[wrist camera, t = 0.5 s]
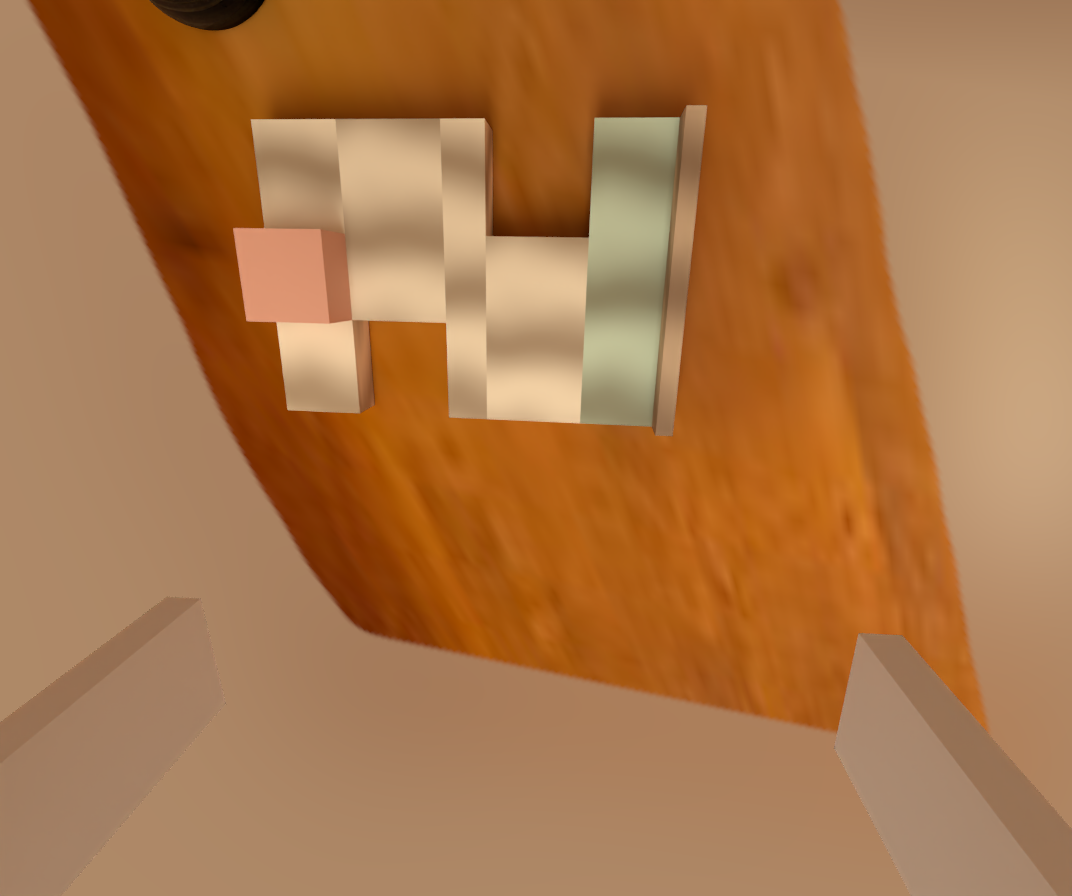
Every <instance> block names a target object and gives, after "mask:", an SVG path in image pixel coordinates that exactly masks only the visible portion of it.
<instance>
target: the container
mask: <svg viewBox="0 0 1072 896" xmlns="http://www.w3.org/2000/svg"><path fill="white" fill-rule="evenodd" d="M150 1H151V2H152V3H153V4H154V5H155V6H156V7H157V8H159V9H160V10H161V11H162V12H164V13H165V14H167V15H168V16H170V17H171V18H173V19H175V20H177V21H179V22H181V23H183V24H185V25H188V26H191V27H195V28H199V29H204V30H224V29H229V28H232V27H235V26H237V25H239V24H241V23H243V22H244V21H246V20H247V19H248V18H250V17H251V16H252V15H253V14H254V13H255V12H256V11H257V10H258V9H259V7H260V6H261V5H262V3H263V2H264V0H150Z"/></svg>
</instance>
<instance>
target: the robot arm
mask: <svg viewBox="0 0 1072 896" xmlns="http://www.w3.org/2000/svg"><path fill="white" fill-rule="evenodd" d="M225 704H226V703H225V699H224V695H223V691H222V686H221V682H220V678H219V673H218V669H217V665H216V661H215V657H214V653H213V648H212V644H211V640H210V636H209V632H208V627H207V623H206V619H205V614H204V610H203V606H202V602H201V599H199V598H179V597H166V598H165V599H163V600H162V601H161V602H160V603H158V604H157V605H155V606H154V607H153V608H151V609H150V610H149V611H147V612H146V613H145V614H143V615H142V616H141V617H139V618H138V619H137V620H135V621H134V622H133V623H132V624H130V625H129V626H127V627H126V628H125V629H123V630H122V631H121V632H120V633H118V634H117V635H116V636H114V637H113V638H111V639H110V640H109V641H107V642H106V643H105V644H103V645H102V646H101V647H100V648H98V649H97V650H96V651H94V652H93V653H92V654H90V655H89V656H88V657H86V658H85V659H84V660H82V661H81V662H80V663H78V664H77V665H76V666H74V667H73V668H72V669H70V670H69V671H68V672H66V673H65V674H64V675H62V676H61V677H60V678H58V679H57V680H56V681H54V682H53V683H52V684H50V685H49V686H48V687H46V688H45V689H44V690H42V691H41V692H40V693H38V694H37V695H36V696H34V697H33V698H32V699H30V700H29V701H28V702H26V703H25V704H24V705H22V706H21V707H20V708H18V709H17V710H16V711H15V712H13V713H12V714H11V715H9V716H8V717H7V718H5V719H4V720H3V721H1V722H0V896H61V895H62V894H63V893H64V892H65V891H66V889H67V888H68V887H69V886H70V885H71V884H72V883H73V881H74V880H75V879H76V878H77V877H78V876H79V874H80V873H81V872H82V871H83V870H84V869H85V867H86V866H87V865H88V864H89V863H90V862H91V860H92V859H93V858H94V857H95V856H96V855H97V853H98V852H99V851H100V850H101V849H102V847H103V846H104V845H105V844H106V843H107V842H108V841H109V839H110V838H111V837H112V836H113V835H114V834H115V832H116V831H117V830H118V829H119V828H120V827H121V825H122V824H123V823H124V822H125V821H126V819H127V818H128V817H129V816H130V815H131V814H132V813H133V811H134V810H135V809H136V808H137V807H138V806H139V804H140V803H141V802H142V801H143V800H144V798H145V797H146V796H147V795H148V794H149V792H151V790H152V789H153V788H154V787H155V786H156V785H157V783H158V782H159V781H160V780H161V779H162V778H163V776H164V775H165V774H166V773H167V772H168V770H169V769H170V768H171V767H172V766H173V764H174V763H175V762H176V761H177V760H178V759H179V758H180V756H181V755H182V754H183V753H184V751H186V749H187V748H188V747H189V746H190V745H191V744H192V742H193V741H194V740H195V739H196V738H197V737H198V735H199V734H200V733H201V732H202V731H203V730H204V728H205V727H206V726H207V725H208V724H209V723H210V721H211V720H212V719H213V718H214V717H215V716H216V714H217V713H218V712H219V711H220V710H221V709H222V707H223V706H224V705H225ZM834 749H835V751H836V753H837V754H838V756H839V758H840V760H841V762H842V764H843V766H844V768H845V770H846V771H847V774H848V775H849V777H850V779H851V781H852V783H853V785H854V787H855V789H856V791H857V793H858V794H859V796H860V798H861V801H862V802H863V804H864V806H865V808H866V810H867V812H868V814H869V816H870V818H871V820H872V822H873V823H874V825H875V827H876V829H877V831H878V833H879V835H880V837H881V839H882V841H883V843H884V845H885V847H886V848H887V850H888V852H889V854H890V856H891V858H892V860H893V862H894V864H895V866H896V868H897V870H898V872H899V874H900V875H901V877H902V879H903V881H904V883H905V885H906V887H907V889H908V891H909V893H910V895H911V896H1072V829H1071V827H1070V826H1069V825H1068V824H1067V823H1066V822H1065V821H1064V819H1063V818H1062V817H1061V816H1060V815H1059V814H1058V813H1057V811H1056V810H1055V809H1054V808H1053V807H1052V806H1051V805H1050V803H1049V802H1048V801H1047V800H1046V799H1045V798H1044V797H1043V796H1042V794H1041V793H1040V792H1039V791H1038V790H1037V789H1036V787H1035V786H1034V785H1033V784H1032V783H1031V782H1030V781H1029V780H1028V779H1027V777H1026V776H1025V775H1024V774H1023V773H1022V772H1021V770H1020V769H1019V768H1018V767H1017V766H1016V765H1015V763H1014V762H1013V761H1012V760H1011V759H1010V758H1009V757H1008V756H1007V754H1006V753H1005V752H1004V751H1003V750H1002V749H1001V748H1000V746H999V745H998V744H997V743H996V742H995V741H994V740H993V738H992V737H991V736H990V735H989V734H988V733H987V732H986V730H985V729H984V728H983V727H982V726H981V725H980V724H979V722H978V721H977V720H976V719H975V718H974V717H973V716H972V714H971V713H970V712H969V711H968V710H967V709H966V708H965V706H964V705H963V704H962V703H961V702H960V701H959V700H958V698H957V697H956V696H955V695H954V694H953V693H952V692H951V690H950V689H949V688H948V687H947V686H946V685H945V684H944V682H943V681H942V680H941V679H940V678H939V677H938V676H937V674H936V673H935V672H934V671H933V670H932V669H931V668H930V666H929V665H928V664H927V663H926V662H925V661H924V660H923V658H922V657H921V656H920V655H919V654H918V653H917V652H916V650H915V649H914V648H913V647H912V646H911V645H910V644H909V642H908V641H907V640H906V639H905V638H904V637H903V636H902V635H883V634H864V633H859V634H858V639H857V644H856V648H855V653H854V658H853V662H852V667H851V672H850V676H849V681H848V686H847V690H846V695H845V700H844V704H843V709H842V714H841V718H840V723H839V728H838V732H837V737H836V742H835V746H834Z"/></svg>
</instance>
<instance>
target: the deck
mask: <svg viewBox="0 0 1072 896" xmlns="http://www.w3.org/2000/svg"><path fill="white" fill-rule="evenodd" d="M706 112H707V105H686V107H685V109H684V111H683V113H682V114H681V116H680V117H654V118H595V122H594V143H593V163H592V184H591V205H590V226H589V238H580V237H513V236H493V131H492V129H491V127H490V126H489V124H488V123H487V121H486V120H485V118H442V119H251V124H252V132H253V140H254V148H255V156H256V164H257V172H258V179H259V187H260V195H261V203H262V211H263V219H264V227H265V228H268V229H322V230H327V231H332V232H337V233H342V234H345V241H346V253H347V265H348V277H349V289H350V300H351V312H352V320H349V321H343V322H337V323H331V324H323V323H289V322H277V329H278V337H279V345H280V353H281V361H282V369H283V377H284V385H285V393H286V401H287V408H288V410H297V411H319V412H342V413H361V412H363V411H365V410H367V409H368V408H370V407H372V406H374V405H375V402H374V389H373V376H372V362H371V349H370V335H369V322H368V321H401V322H435V323H446V333H447V366H448V399H449V417H452V418H475V419H497V420H519V421H541V422H563V423H586V424H608V425H630V426H652V428H653V431H654V433H655V435H659V436H673V428H674V418H675V409H676V399H677V389H678V380H679V370H680V361H681V351H682V342H683V332H684V322H685V313H686V303H687V294H688V284H689V275H690V265H691V256H692V246H693V236H694V227H695V217H696V208H697V198H698V189H699V179H700V170H701V160H702V150H703V141H704V131H705V122H706Z"/></svg>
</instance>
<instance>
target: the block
mask: <svg viewBox="0 0 1072 896" xmlns="http://www.w3.org/2000/svg"><path fill="white" fill-rule="evenodd" d="M233 230H234V237H235V244H236V251H237V258H238V265H239V272H240V279H241V286H242V292H243V299H244V306H245V313H246V320H247V321H256V322H289V323H323V324H331V323H337V322H343V321H349V320H352V312H351V300H350V289H349V277H348V265H347V253H346V241H345V234H342V233H337V232H332V231H327V230H322V229H268V228H233Z"/></svg>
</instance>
